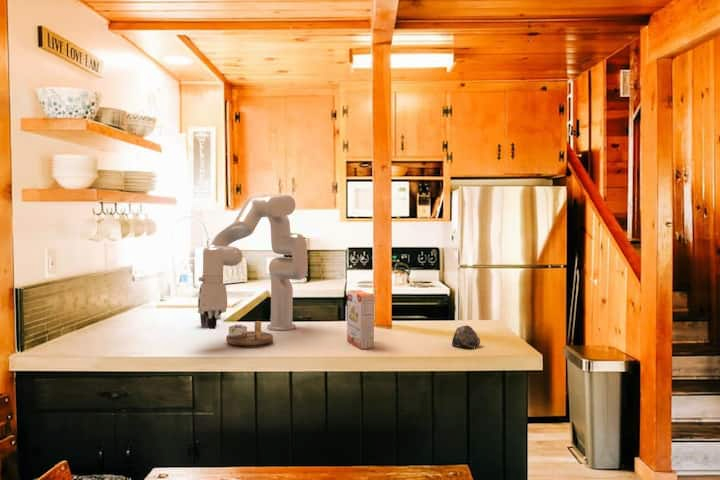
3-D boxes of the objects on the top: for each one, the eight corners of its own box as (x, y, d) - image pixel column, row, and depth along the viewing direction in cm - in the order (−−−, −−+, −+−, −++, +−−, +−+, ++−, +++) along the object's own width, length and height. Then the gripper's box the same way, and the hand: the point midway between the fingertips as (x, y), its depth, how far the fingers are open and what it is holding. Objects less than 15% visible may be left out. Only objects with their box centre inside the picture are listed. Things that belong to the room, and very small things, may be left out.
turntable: (219, 337, 231) (219, 316, 231) (261, 333, 241) (261, 313, 241) (236, 347, 216) (237, 324, 216) (280, 341, 226) (280, 320, 226)
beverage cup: (194, 327, 257) (194, 282, 256) (204, 324, 264) (205, 280, 263) (208, 329, 254) (208, 283, 253) (218, 326, 261) (218, 281, 260)
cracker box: (345, 341, 234) (346, 290, 233) (359, 340, 236) (360, 289, 235) (359, 349, 221) (360, 295, 220) (374, 348, 224) (375, 294, 223)
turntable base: (231, 341, 230) (231, 339, 230) (257, 338, 236) (257, 336, 236) (242, 347, 221) (242, 345, 221) (268, 344, 227) (268, 341, 227)
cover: (225, 336, 227) (226, 324, 227) (242, 334, 231) (242, 322, 230) (232, 340, 221) (232, 327, 221) (249, 338, 225) (250, 325, 225)
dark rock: (473, 349, 222) (462, 325, 224) (454, 357, 227) (443, 333, 229) (484, 343, 231) (473, 320, 233) (465, 351, 236) (454, 328, 238)
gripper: (196, 281, 212) (195, 331, 212) (235, 280, 220) (234, 328, 221) (190, 279, 218) (189, 328, 219) (228, 278, 226) (227, 325, 227)
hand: (211, 328), depth 220 cm, fingers closed
